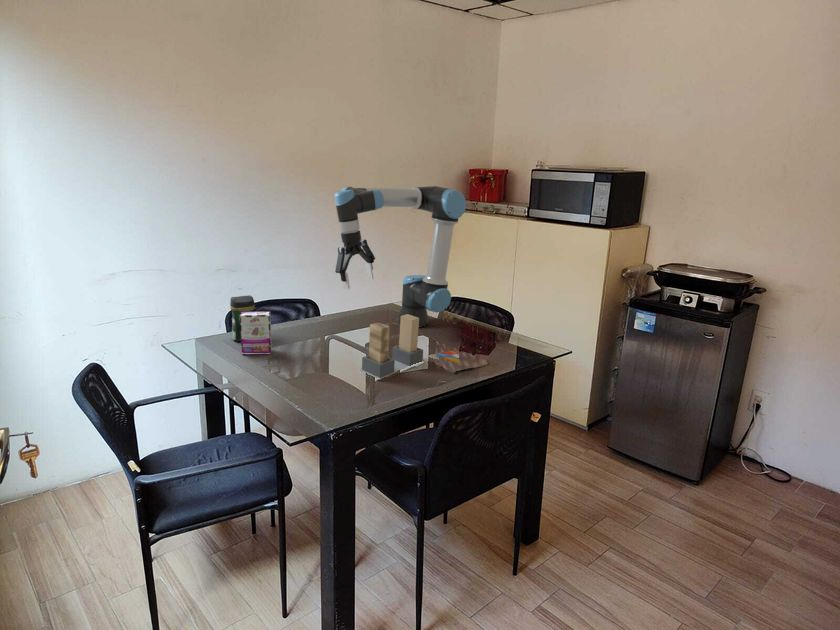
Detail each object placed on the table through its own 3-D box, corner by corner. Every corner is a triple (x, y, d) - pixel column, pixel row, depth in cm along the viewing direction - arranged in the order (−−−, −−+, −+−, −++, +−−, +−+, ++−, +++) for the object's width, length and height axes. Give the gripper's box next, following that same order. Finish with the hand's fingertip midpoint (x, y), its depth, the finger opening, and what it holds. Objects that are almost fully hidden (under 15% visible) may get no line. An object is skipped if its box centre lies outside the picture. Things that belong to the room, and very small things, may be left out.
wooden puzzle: (489, 366, 222) (490, 358, 221) (454, 376, 211) (454, 367, 210) (460, 351, 235) (461, 343, 234) (425, 360, 224) (426, 352, 222)
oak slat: (376, 366, 210) (377, 322, 205) (387, 372, 207) (389, 326, 201) (368, 369, 207) (370, 324, 202) (379, 374, 204) (381, 329, 198)
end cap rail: (405, 355, 225) (408, 311, 219) (424, 363, 219) (427, 318, 213) (359, 372, 207) (361, 324, 201) (378, 381, 201) (380, 332, 195)
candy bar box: (271, 349, 222) (270, 311, 217) (271, 354, 218) (270, 315, 212) (242, 350, 220) (241, 311, 215) (241, 355, 215) (239, 315, 210)
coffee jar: (253, 334, 237) (251, 292, 231) (258, 340, 231) (256, 297, 225) (229, 337, 232) (227, 294, 226) (234, 343, 226) (232, 300, 220)
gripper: (365, 224, 225) (373, 274, 232) (319, 238, 207) (329, 292, 214) (378, 224, 220) (386, 275, 227) (333, 239, 202) (343, 294, 210)
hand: (359, 283), depth 221 cm, fingers open, 13 cm apart
